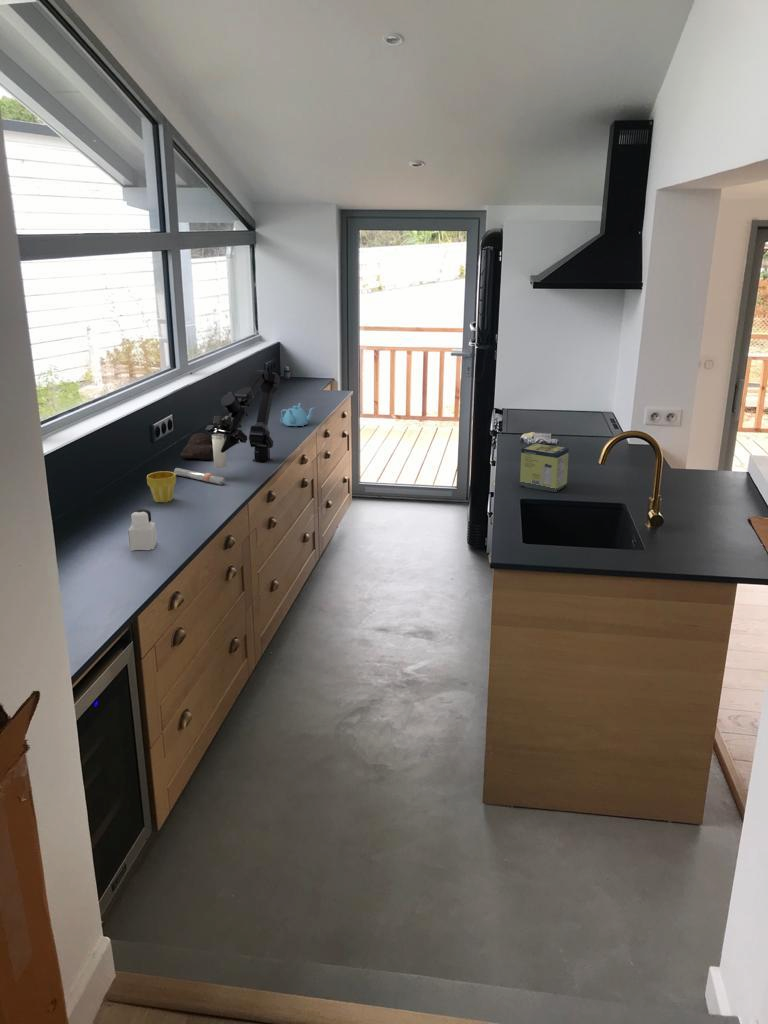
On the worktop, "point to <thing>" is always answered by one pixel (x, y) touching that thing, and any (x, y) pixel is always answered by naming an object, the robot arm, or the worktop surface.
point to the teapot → (296, 416)
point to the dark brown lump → (198, 447)
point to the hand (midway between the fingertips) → (216, 451)
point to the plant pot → (162, 485)
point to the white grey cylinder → (219, 451)
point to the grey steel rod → (200, 476)
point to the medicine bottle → (142, 531)
